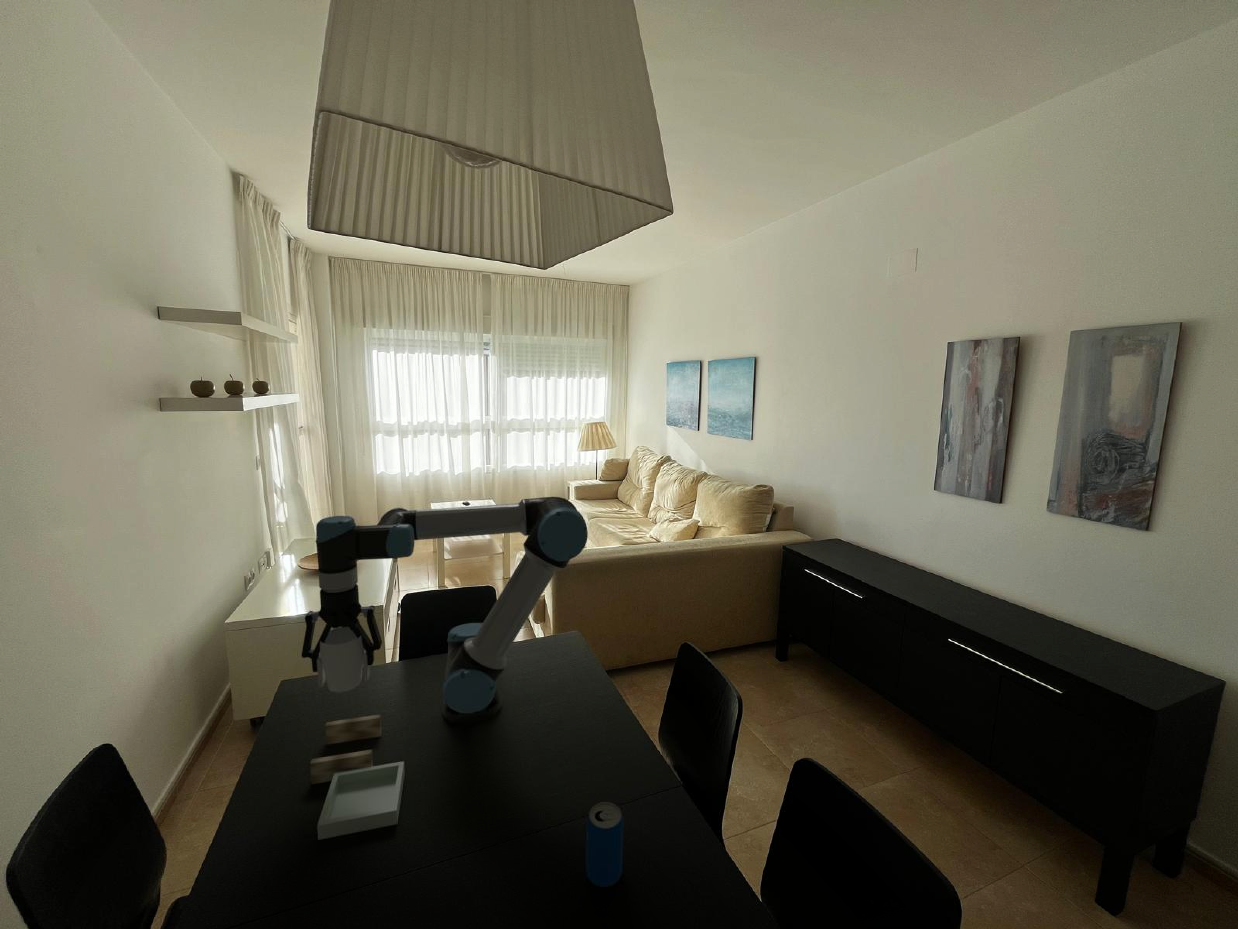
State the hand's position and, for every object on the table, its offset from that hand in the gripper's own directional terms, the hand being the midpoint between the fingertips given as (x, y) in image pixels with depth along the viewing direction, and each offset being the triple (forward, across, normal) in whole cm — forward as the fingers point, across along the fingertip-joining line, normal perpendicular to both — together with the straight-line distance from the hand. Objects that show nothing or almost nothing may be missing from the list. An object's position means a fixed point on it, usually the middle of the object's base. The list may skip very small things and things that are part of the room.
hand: (344, 680), depth 118 cm
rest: (+19, 0, 0) cm, 19 cm away
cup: (+1, 0, 0) cm, 1 cm away
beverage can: (+20, -50, +43) cm, 69 cm away
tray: (+19, -6, +16) cm, 26 cm away
